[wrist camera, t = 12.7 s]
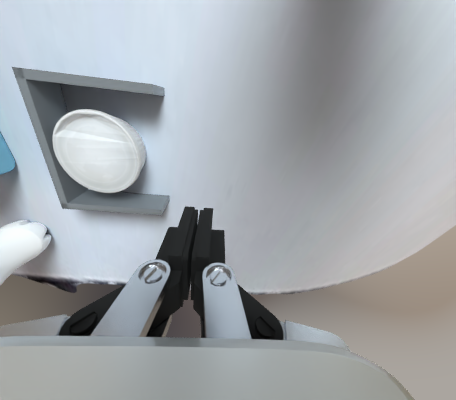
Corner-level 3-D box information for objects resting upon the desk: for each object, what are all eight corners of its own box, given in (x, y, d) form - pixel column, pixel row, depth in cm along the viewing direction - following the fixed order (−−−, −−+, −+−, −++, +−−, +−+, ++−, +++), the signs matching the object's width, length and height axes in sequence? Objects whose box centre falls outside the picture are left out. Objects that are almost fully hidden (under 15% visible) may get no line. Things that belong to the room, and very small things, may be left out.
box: (164, 87, 26) (152, 84, 21) (169, 200, 34) (161, 215, 30) (49, 73, 25) (11, 66, 20) (83, 194, 33) (62, 208, 28)
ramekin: (121, 94, 26) (99, 92, 21) (166, 163, 31) (156, 174, 26) (62, 130, 28) (30, 135, 23) (112, 190, 33) (95, 204, 28)
